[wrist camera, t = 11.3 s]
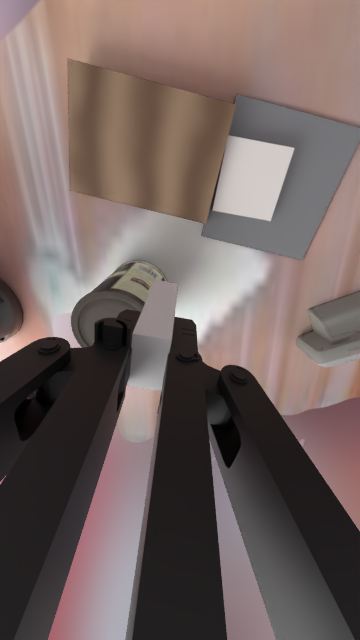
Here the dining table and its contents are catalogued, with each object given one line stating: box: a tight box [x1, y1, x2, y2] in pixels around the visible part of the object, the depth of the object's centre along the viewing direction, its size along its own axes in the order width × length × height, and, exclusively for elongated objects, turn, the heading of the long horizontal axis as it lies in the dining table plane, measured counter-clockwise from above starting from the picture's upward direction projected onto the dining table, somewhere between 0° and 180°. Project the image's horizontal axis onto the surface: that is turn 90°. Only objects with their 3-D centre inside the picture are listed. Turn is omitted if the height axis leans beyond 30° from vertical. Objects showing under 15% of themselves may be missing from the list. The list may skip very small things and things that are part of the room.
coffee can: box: [71, 261, 167, 348], centre depth 32 cm, size 10×10×14 cm
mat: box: [201, 94, 360, 260], centre depth 30 cm, size 16×16×1 cm
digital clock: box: [296, 291, 360, 367], centre depth 34 cm, size 16×9×11 cm, turn 104°
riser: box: [67, 58, 236, 224], centre depth 28 cm, size 18×12×4 cm, turn 78°
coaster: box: [211, 135, 294, 221], centre depth 29 cm, size 8×8×2 cm
